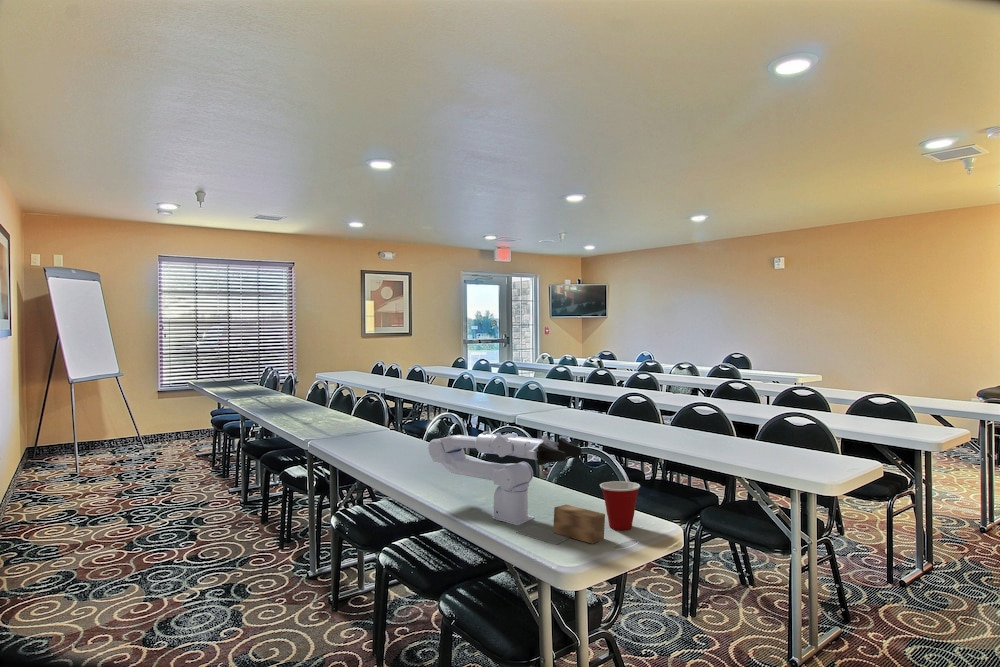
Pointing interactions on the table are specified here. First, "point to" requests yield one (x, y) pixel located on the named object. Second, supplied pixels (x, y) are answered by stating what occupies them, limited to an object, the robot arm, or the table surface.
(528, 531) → the felt mat
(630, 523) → the plastic cup
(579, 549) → the table surface
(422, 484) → the table surface
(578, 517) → the wooden block
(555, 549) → the table surface
